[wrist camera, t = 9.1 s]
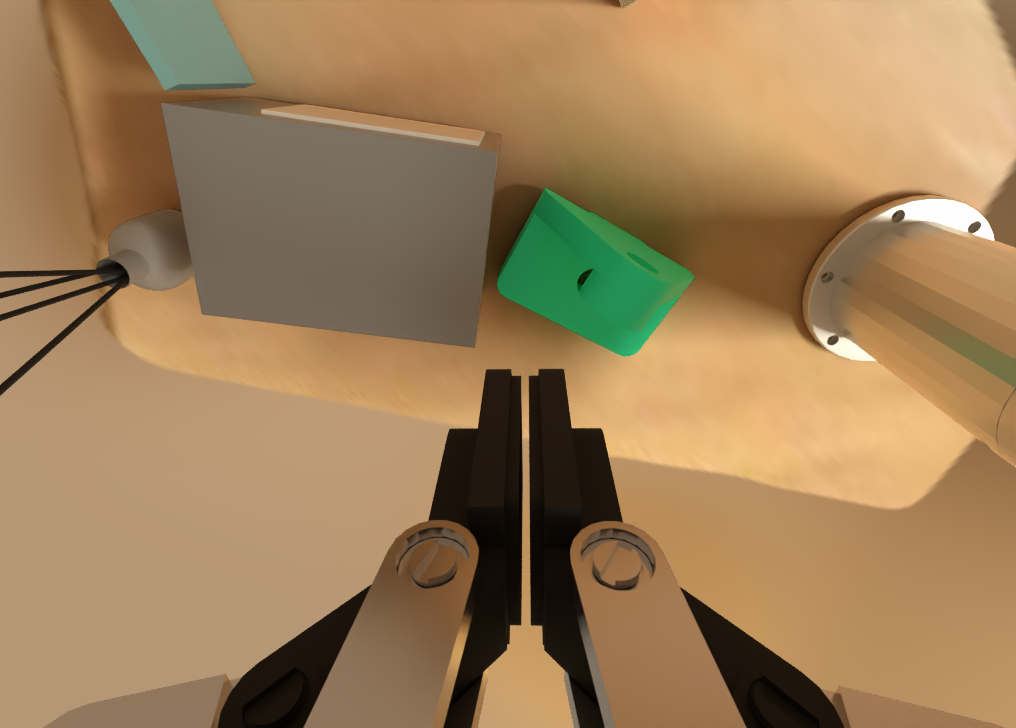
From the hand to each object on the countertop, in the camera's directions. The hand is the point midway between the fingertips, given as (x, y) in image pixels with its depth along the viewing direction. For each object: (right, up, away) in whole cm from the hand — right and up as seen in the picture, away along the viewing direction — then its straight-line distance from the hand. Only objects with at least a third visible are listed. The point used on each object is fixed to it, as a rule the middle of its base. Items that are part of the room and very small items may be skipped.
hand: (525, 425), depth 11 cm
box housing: (-9, +13, +23) cm, 28 cm away
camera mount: (+6, +8, +26) cm, 28 cm away
